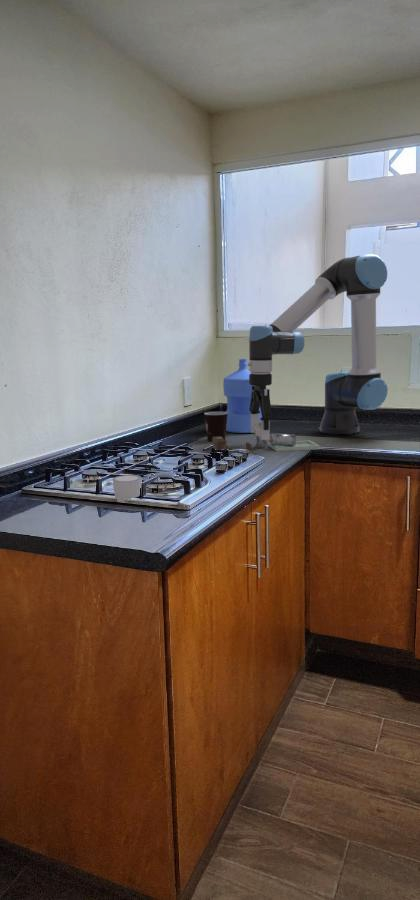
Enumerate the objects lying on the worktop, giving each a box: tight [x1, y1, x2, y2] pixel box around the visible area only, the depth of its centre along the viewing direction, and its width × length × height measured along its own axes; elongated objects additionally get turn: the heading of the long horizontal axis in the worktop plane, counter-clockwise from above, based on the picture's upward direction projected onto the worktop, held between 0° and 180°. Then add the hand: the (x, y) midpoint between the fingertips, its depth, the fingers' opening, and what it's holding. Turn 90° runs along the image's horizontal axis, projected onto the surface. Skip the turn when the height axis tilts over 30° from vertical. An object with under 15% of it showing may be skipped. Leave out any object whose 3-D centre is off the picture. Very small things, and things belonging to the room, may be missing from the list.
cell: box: [254, 423, 268, 449], centre depth 204 cm, size 4×4×9 cm
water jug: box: [222, 358, 262, 434], centre depth 237 cm, size 16×16×28 cm
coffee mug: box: [203, 411, 228, 442], centre depth 220 cm, size 12×9×10 cm
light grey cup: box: [112, 474, 143, 503], centre depth 141 cm, size 7×7×7 cm
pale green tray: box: [268, 439, 321, 452], centre depth 203 cm, size 15×10×1 cm, turn 100°
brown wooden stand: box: [211, 436, 253, 450], centre depth 200 cm, size 12×9×5 cm
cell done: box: [268, 432, 297, 447], centre depth 202 cm, size 4×4×9 cm
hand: (259, 436), depth 204 cm, fingers open, 13 cm apart
